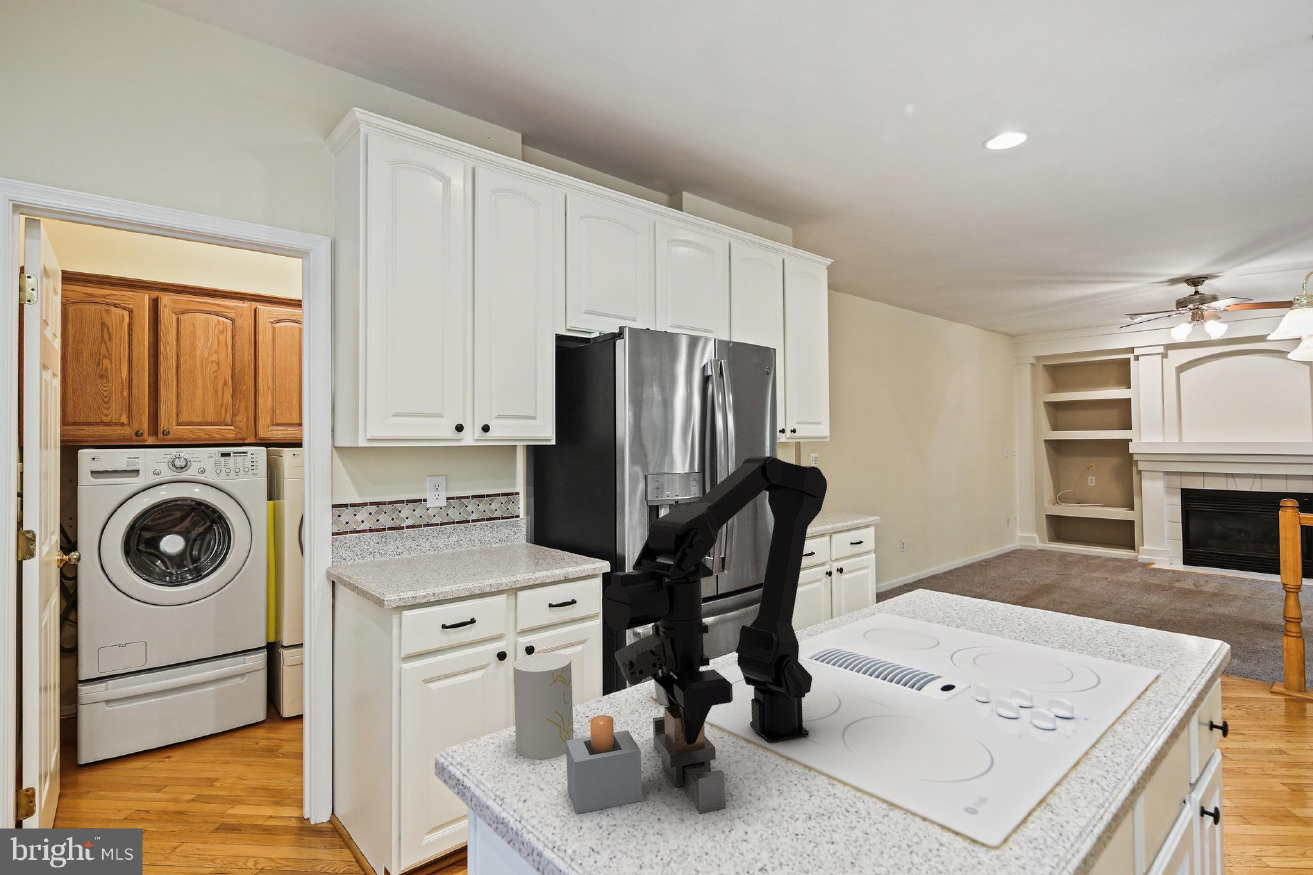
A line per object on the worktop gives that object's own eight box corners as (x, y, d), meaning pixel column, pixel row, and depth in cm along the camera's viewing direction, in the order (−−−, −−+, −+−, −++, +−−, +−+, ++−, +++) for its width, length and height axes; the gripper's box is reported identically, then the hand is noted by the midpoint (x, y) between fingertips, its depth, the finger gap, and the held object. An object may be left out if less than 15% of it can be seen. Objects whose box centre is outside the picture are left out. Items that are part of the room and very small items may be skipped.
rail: (675, 742, 94) (674, 714, 94) (725, 808, 77) (724, 773, 77) (653, 746, 93) (652, 718, 93) (699, 813, 76) (698, 778, 76)
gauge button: (611, 742, 83) (610, 713, 83) (616, 752, 80) (615, 722, 80) (589, 746, 82) (588, 717, 82) (593, 756, 79) (592, 726, 79)
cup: (562, 761, 90) (559, 672, 90) (506, 757, 91) (503, 670, 92) (581, 734, 98) (578, 653, 98) (529, 731, 99) (526, 651, 100)
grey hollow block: (629, 776, 85) (627, 730, 85) (642, 800, 79) (640, 750, 79) (567, 788, 82) (565, 740, 83) (576, 813, 77) (574, 762, 77)
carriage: (699, 757, 89) (697, 698, 89) (716, 778, 83) (714, 715, 83) (656, 765, 87) (654, 705, 87) (671, 787, 81) (669, 723, 81)
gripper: (602, 606, 92) (606, 718, 92) (641, 643, 74) (646, 783, 74) (678, 597, 95) (682, 706, 95) (732, 631, 77) (737, 764, 77)
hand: (684, 736), depth 85 cm, fingers closed on carriage, 4 cm apart
